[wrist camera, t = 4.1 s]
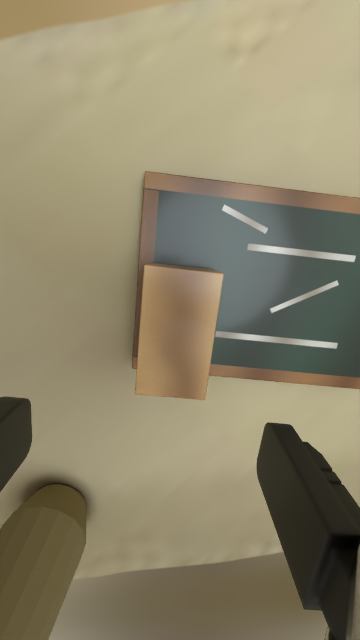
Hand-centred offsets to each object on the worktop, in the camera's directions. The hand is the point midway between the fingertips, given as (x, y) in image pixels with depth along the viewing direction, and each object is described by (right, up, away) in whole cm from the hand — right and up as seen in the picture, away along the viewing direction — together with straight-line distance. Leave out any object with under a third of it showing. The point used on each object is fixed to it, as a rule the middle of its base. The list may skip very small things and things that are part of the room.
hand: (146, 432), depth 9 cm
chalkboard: (+9, +6, +14) cm, 18 cm away
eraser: (+1, +4, +13) cm, 14 cm away
